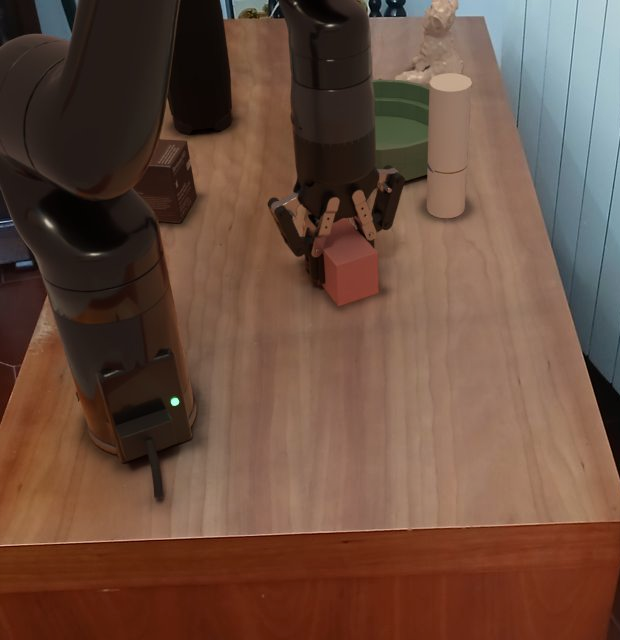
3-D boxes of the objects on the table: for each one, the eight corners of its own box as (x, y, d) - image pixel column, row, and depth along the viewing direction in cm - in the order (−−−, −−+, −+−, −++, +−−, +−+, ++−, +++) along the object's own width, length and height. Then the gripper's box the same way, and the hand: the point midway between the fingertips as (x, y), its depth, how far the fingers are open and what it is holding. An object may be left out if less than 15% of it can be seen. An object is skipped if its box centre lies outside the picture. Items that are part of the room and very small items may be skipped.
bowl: (482, 163, 111) (484, 125, 108) (346, 202, 106) (345, 163, 102) (409, 103, 124) (409, 68, 120) (284, 136, 118) (281, 99, 115)
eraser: (378, 293, 93) (378, 252, 89) (338, 306, 91) (336, 265, 88) (343, 253, 98) (342, 213, 95) (305, 265, 97) (302, 225, 94)
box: (180, 224, 103) (170, 167, 99) (130, 220, 104) (117, 163, 100) (197, 196, 108) (188, 139, 103) (149, 192, 109) (138, 136, 104)
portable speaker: (227, 101, 126) (209, -46, 113) (242, 132, 119) (225, -22, 107) (165, 112, 124) (139, -37, 112) (177, 144, 118) (151, -11, 105)
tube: (472, 206, 104) (480, 80, 94) (448, 222, 102) (454, 95, 92) (442, 193, 106) (447, 69, 96) (418, 209, 104) (421, 83, 94)
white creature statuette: (416, 64, 133) (418, -20, 125) (473, 73, 130) (479, -13, 122) (391, 92, 127) (390, 4, 119) (450, 102, 124) (454, 13, 116)
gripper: (276, 158, 78) (291, 314, 90) (423, 118, 83) (420, 272, 94) (244, 122, 83) (262, 274, 95) (384, 86, 88) (385, 235, 99)
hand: (341, 272), depth 94 cm, fingers closed on eraser, 4 cm apart
